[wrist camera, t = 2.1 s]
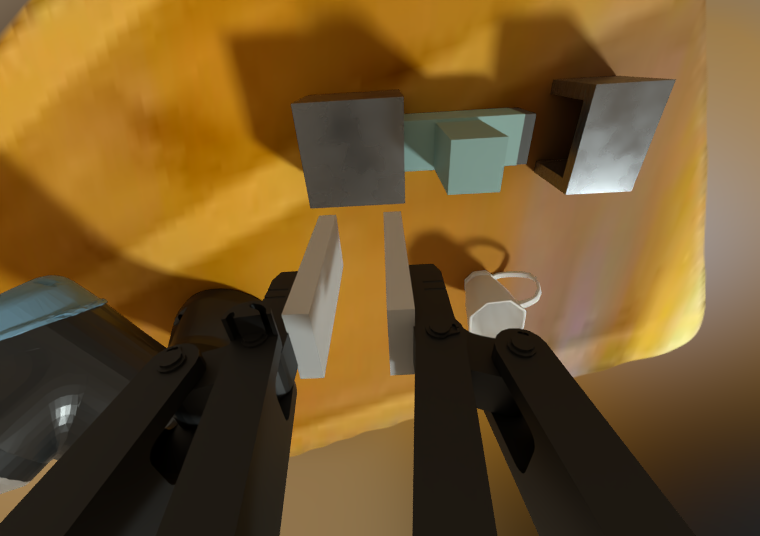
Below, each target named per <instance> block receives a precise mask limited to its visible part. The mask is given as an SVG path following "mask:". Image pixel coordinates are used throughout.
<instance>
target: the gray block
mask: <svg viewBox="0 0 760 536" xmlns="http://www.w3.org/2000/svg"><path fill="white" fill-rule="evenodd" d="M291 108H292V113H293V118H294V124H295V129H296V134H297V139H298V145H299V150H300V155H301V161H302V166H303V171H304V177H305V182H306V187H307V192H308V198H309V203H310V208H327V207H345V206H364V205H382V204H401V203H405V168H404V96H403V95H402V94H401V92H400V91H399V90H385V91H369V92H353V93H338V94H322V95H308V96H305V97H303V98H301V99H299V100H297V101H295V102H293V103H291Z"/></svg>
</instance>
